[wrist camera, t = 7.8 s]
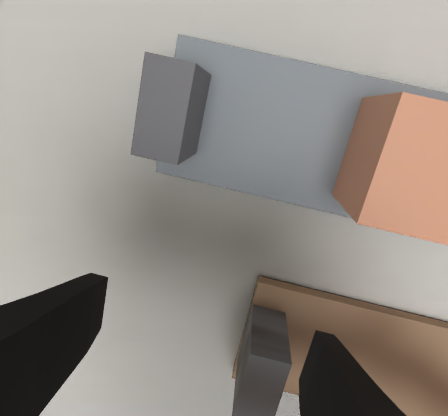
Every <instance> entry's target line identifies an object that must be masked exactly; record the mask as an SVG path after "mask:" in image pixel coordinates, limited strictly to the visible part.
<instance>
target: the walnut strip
mask: <svg viewBox="0 0 448 416" xmlns="http://www.w3.org/2000/svg"><path fill="white" fill-rule="evenodd" d="M316 330H318V331H322V332H326V333H330V334H334V335H335V336H336V337H337V338H338V339H339V340H340V342H341V343H342V344H343V345H344V346H345V348H346V349H347V350H348V351H349V352H350V354H351V355H352V356H353V357H354V358H355V360H356V361H357V362H358V363H359V364H360V366H361V367H362V368H363V369H364V370H365V371H366V373H367V374H368V375H369V376H370V377H371V378H372V380H373V381H374V382H375V383H376V384H377V385H378V386H379V387H380V388H381V390H382V391H383V392H384V393H385V394H386V395H387V396H388V397H389V398H390V399H391V400H392V401H393V402H394V403H395V404H396V405H397V407H398V408H399V409H400V410H401V411H402V412H403V413H404V414H405V415H406V416H448V322H444V321H440V320H436V319H432V318H428V317H424V316H420V315H416V314H412V313H407V312H403V311H399V310H395V309H391V308H387V307H383V306H379V305H375V304H371V303H367V302H363V301H359V300H355V299H350V298H346V297H342V296H338V295H334V294H330V293H326V292H322V291H318V290H314V289H310V288H306V287H302V286H298V285H294V284H289V283H285V282H281V281H277V280H273V279H269V278H265V277H261V276H259V277H258V280H257V284H256V288H255V291H254V295H253V298H252V302H251V306H250V309H249V313H248V317H247V320H246V324H245V328H244V331H243V335H242V339H241V342H240V346H239V350H238V353H237V357H236V361H235V364H234V368H233V375H232V378H234V379H236V380H235V391H234V401H233V412H232V416H275V414H276V411H277V408H278V405H279V402H280V399H281V396H282V393H283V391H284V392H288V393H292V394H296V395H299V377H300V374H301V372H302V369H303V366H304V363H305V360H306V357H307V354H308V351H309V348H310V345H311V342H312V339H313V336H314V333H315V331H316Z"/></svg>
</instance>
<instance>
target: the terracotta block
mask: <svg viewBox="0 0 448 416" xmlns="http://www.w3.org/2000/svg"><path fill="white" fill-rule="evenodd" d="M332 195H333V196H334V198H335V199H336V200H337V201H338V202H339V203H340V205H341V206H342V207H343V208H344V209H345V210H346V212H347V213H348V214H349V215H350V216H351V217H352V218H353V220H354V221H355V222H356V223H357V224H361V225H365V226H369V227H373V228H377V229H382V230H386V231H390V232H394V233H399V234H403V235H407V236H411V237H415V238H420V239H424V240H428V241H432V242H436V243H441V244H445V245H448V102H446V101H442V100H437V99H433V98H428V97H424V96H419V95H415V94H410V93H406V92H399V93H392V94H384V95H377V96H370V97H363V98H362V101H361V104H360V107H359V110H358V113H357V116H356V120H355V123H354V126H353V129H352V132H351V135H350V138H349V142H348V145H347V148H346V151H345V154H344V157H343V160H342V164H341V167H340V170H339V173H338V176H337V179H336V183H335V186H334V189H333V192H332Z"/></svg>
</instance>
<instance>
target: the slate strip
mask: <svg viewBox="0 0 448 416" xmlns="http://www.w3.org/2000/svg"><path fill="white" fill-rule="evenodd" d="M399 92H406V93H410V94H415V95H419V96H424V97H428V98H433V99H437V100H442V101H446V102H448V94H447V93H443V92H438V91H434V90H429V89H425V88H420V87H416V86H411V85H406V84H402V83H397V82H393V81H388V80H384V79H379V78H375V77H370V76H366V75H361V74H357V73H352V72H347V71H343V70H338V69H334V68H329V67H325V66H320V65H316V64H311V63H307V62H302V61H298V60H293V59H288V58H284V57H279V56H275V55H270V54H266V53H261V52H257V51H252V50H248V49H243V48H238V47H234V46H229V45H225V44H220V43H216V42H211V41H207V40H202V39H198V38H193V37H189V36H184V35H179V34H178V38H177V45H176V51H175V57H174V58H171V57H167V56H162V55H158V54H153V53H149V52H145V55H144V62H143V69H142V76H141V84H140V91H139V98H138V105H137V112H136V120H135V127H134V134H133V141H132V148H131V155H136V156H140V157H144V158H148V159H153V160H157V161H158V162H157V168H156V172H159V173H163V174H168V175H172V176H176V177H180V178H184V179H189V180H193V181H197V182H201V183H206V184H210V185H214V186H218V187H223V188H227V189H231V190H235V191H239V192H244V193H248V194H252V195H256V196H261V197H265V198H269V199H273V200H277V201H282V202H286V203H290V204H294V205H299V206H303V207H307V208H311V209H315V210H320V211H324V212H328V213H332V214H337V215H341V216H345V217H349V218H352V217H351V216H350V215H349V214H348V213H347V212H346V210H345V209H344V208H343V207H342V206H341V205H340V203H339V202H338V201H337V200H336V199H335V198H334V196H333V195H332V192H333V189H334V186H335V183H336V179H337V176H338V173H339V170H340V167H341V164H342V160H343V157H344V154H345V151H346V148H347V145H348V142H349V138H350V135H351V132H352V129H353V126H354V123H355V120H356V116H357V113H358V110H359V107H360V104H361V101H362V98H363V97H370V96H377V95H384V94H392V93H399Z"/></svg>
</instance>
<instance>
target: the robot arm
mask: <svg viewBox="0 0 448 416" xmlns="http://www.w3.org/2000/svg"><path fill="white" fill-rule="evenodd" d="M107 282H108V277H105V276H101V275H97V274H93V273H89V274H86V275H83V276H80V277H78V278H75V279H73V280H70V281H68V282H65V283H63V284H60V285H57V286H55V287H52V288H50V289H47V290H44V291H42V292H39V293H36V294H33V295H30V296H28V297H25V298H22V299H19V300H16V301H13V302H10V303H7V304H4V305H0V416H39V415H40V413H41V412H42V411H43V409H44V408H45V407H46V405H47V404H48V403H49V402H50V400H51V399H52V398H53V396H54V395H55V394H56V393H57V391H58V390H59V389H60V387H61V386H62V385H63V384H64V382H65V381H66V380H67V378H68V377H69V376H70V374H71V373H72V372H73V371H74V369H75V368H76V367H77V365H78V364H79V363H80V361H81V360H82V359H83V357H84V356H85V355H86V353H87V352H88V350H89V348H90V347H91V345H92V343H93V342H94V340H95V338H96V336H97V334H98V333H99V331H100V329H101V325H102V318H103V311H104V303H105V296H106V289H107ZM299 405H300V415H301V416H406V415H405V414H404V413H403V412H402V411H401V410H400V409H399V408H398V407H397V405H396V404H395V403H394V402H393V401H392V400H391V399H390V398H389V397H388V396H387V395H386V394H385V393H384V392H383V391H382V390H381V388H380V387H379V386H378V385H377V384H376V383H375V382H374V381H373V380H372V378H371V377H370V376H369V375H368V374H367V373H366V371H365V370H364V369H363V368H362V367H361V366H360V364H359V363H358V362H357V361H356V360H355V358H354V357H353V356H352V355H351V354H350V352H349V351H348V350H347V349H346V348H345V346H344V345H343V344H342V343H341V342H340V340H339V339H338V338H337V337H336V336H335V335H334V334H330V333H326V332H322V331H318V330H316V331H315V333H314V336H313V339H312V342H311V345H310V348H309V351H308V354H307V357H306V360H305V363H304V366H303V369H302V372H301V374H300V377H299Z"/></svg>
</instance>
